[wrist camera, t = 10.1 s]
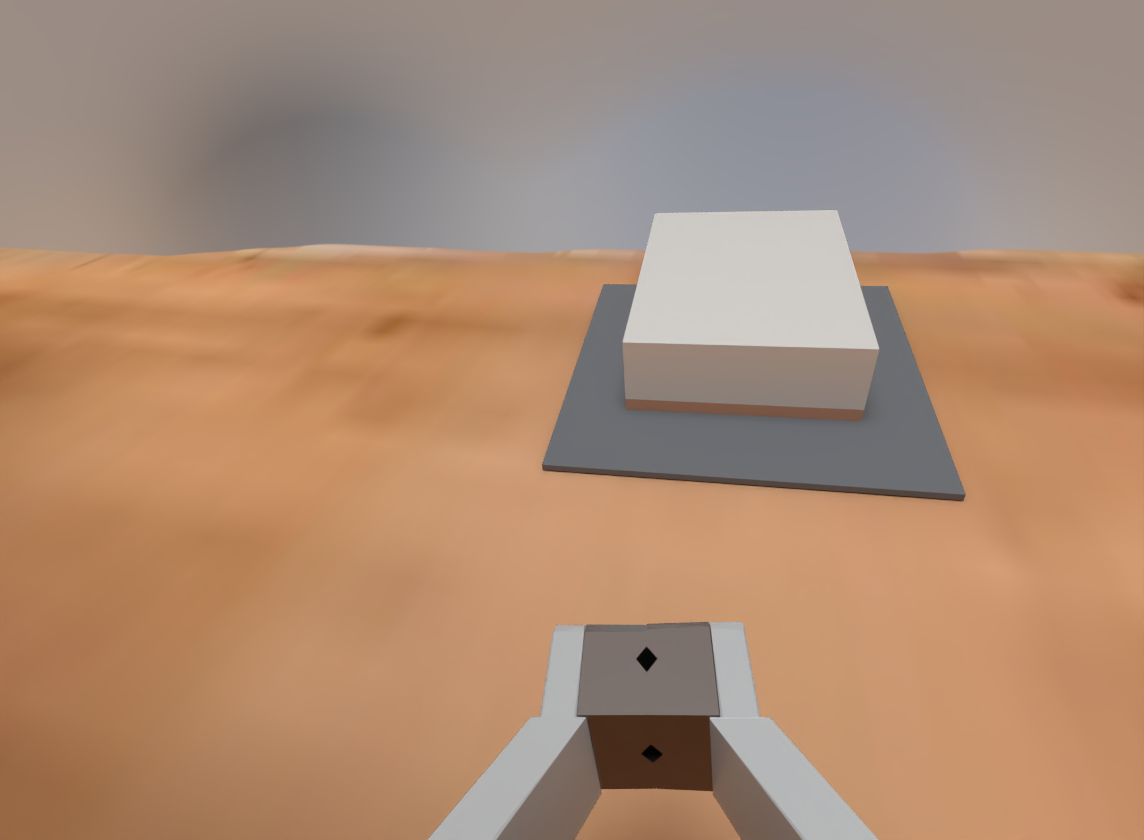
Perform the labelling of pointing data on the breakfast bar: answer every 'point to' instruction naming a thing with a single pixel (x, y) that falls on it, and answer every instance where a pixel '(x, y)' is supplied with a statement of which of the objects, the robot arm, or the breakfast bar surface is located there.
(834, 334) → the white boxy piece
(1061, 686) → the breakfast bar surface
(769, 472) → the felt mat
